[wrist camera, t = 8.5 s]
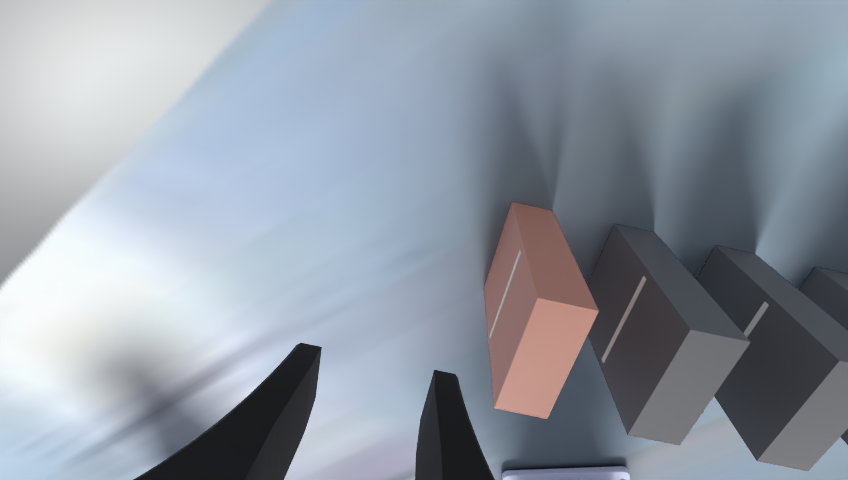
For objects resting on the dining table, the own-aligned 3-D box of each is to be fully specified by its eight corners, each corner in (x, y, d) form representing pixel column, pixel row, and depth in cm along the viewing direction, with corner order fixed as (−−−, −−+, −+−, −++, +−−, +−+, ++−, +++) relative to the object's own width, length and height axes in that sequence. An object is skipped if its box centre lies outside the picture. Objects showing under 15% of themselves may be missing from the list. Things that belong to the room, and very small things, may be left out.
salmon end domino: (483, 288, 24) (493, 408, 17) (510, 201, 21) (536, 297, 14) (521, 296, 24) (548, 419, 17) (553, 210, 21) (600, 311, 14)
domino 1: (576, 307, 24) (626, 434, 17) (613, 223, 22) (689, 329, 14) (614, 315, 24) (680, 445, 17) (655, 232, 22) (751, 342, 15)
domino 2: (668, 326, 24) (755, 460, 17) (714, 245, 22) (838, 360, 15) (705, 334, 24) (809, 471, 17) (756, 253, 22) (900, 373, 15)
